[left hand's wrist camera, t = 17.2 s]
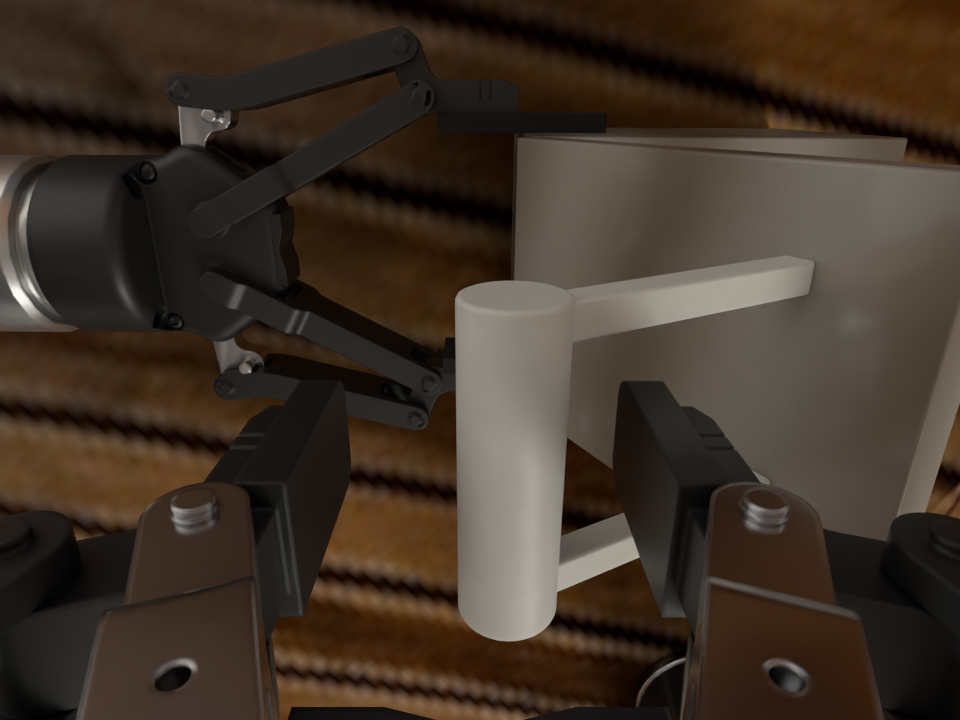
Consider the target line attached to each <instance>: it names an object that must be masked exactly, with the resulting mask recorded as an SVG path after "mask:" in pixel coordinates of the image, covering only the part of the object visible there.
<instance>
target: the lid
mask: <svg viewBox="0 0 960 720" xmlns="http://www.w3.org/2000/svg"><path fill="white" fill-rule="evenodd" d="M455 344H456V438H457V533H458V606H459V611H460V613H461V615H462V617H463V619H464V620H465V622H466V623H467V624H468V625H469V626H470V627H471V628H472V629H473V630H474V631H476V632H477V633H479V634H481V635H483V636H485V637H488V638H491V639H494V640H500V641H518V640H524V639H528V638H530V637H533V636H535V635H537V634H539V633H540V632H541V631H543V630H544V629H545V628H546V627H547V626H548V625H549V623H550V622H551V621H552V619H553V617H554V615H555V612H556V603H557V592H558V591H561V590H563V589H565V588H568V587H570V586H573V585H575V584H577V583H580V582H582V581H585V580H587V579H589V578H592V577H594V576H596V575H599V574H601V573H604V572H606V571H608V570H611V569H613V568H615V567H618V566H620V565H623V564H625V563H627V562H630V561H632V560H634V559H637V558H639V557H640V556H639V554H638V551H637V548H636V545H635V542H634V539H633V537H632V534H631V531H630V528H629V525H628V523H627V520H626V517H625V514H624V513H622V514H619V515H616V516H614V517H611V518H608V519H606V520H603V521H600V522H598V523H595V524H592V525H589V526H587V527H584V528H581V529H579V530H576V531H573V532H571V533H568V534H565V535H563V536H561V523H562V507H563V491H564V475H565V459H566V443H567V438H569V439H570V440H572V441H573V442H574V443H576V444H577V445H579V446H580V447H581V448H583V449H584V450H586V451H587V452H588V453H590V454H591V455H593V456H594V457H596V458H597V459H598V460H600V461H601V462H603V463H604V464H605V465H607V466H608V467H610V468H611V469H612V470H613V464H612V461H613V446H614V435H615V424H616V413H617V401H618V392H619V387H620V384H621V382H622V381H663V382H664V383H665V384H666V386H667V387H668V389H669V390H670V392H671V393H672V395H673V396H674V398H675V399H676V401H677V402H678V404H679V405H680V406H693V407H694V408H696V409H697V410H699V411H701V412H702V413H704V414H706V415H707V416H709V417H710V418H712V419H713V420H714V421H715V422H716V424H717V425H718V426H719V428H720V429H721V430H722V432H723V433H724V434H725V437H727V438H728V440H729V441H730V442H731V444H732V445H733V446H734V450H737V452H738V453H739V454H740V456H741V457H742V458H743V460H744V461H745V462H746V464H747V465H748V466H749V468H750V469H751V470H752V472H753V473H754V474H755V476H756V477H757V478H758V480H759V481H760V482H761V483H763V484H768V485H772V486H776V487H779V488H782V489H784V490H787V491H789V492H791V493H793V494H795V495H797V496H799V497H801V498H802V499H804V500H805V501H807V502H808V503H809V504H810V505H811V506H812V507H813V508H814V509H815V510H816V511H817V513H818V514H819V516H820V519H821V522H822V527H823V528H824V529H827V530H831V531H835V532H840V533H845V534H850V535H855V536H860V537H866V538H871V539H876V540H882V541H886V540H887V537H888V533H889V530H890V526H891V524H892V522H893V520H894V519H895V518H897V517H898V516H901V515H903V514H907V513H915V512H925V511H926V508H927V504H928V501H929V498H930V495H931V492H932V489H933V485H934V482H935V479H936V476H937V473H938V470H939V466H940V463H941V460H942V457H943V454H944V451H945V447H946V444H947V441H948V438H949V435H950V432H951V428H952V425H953V422H954V419H955V416H956V413H957V409H958V406H959V403H960V165H946V164H931V163H917V162H902V161H888V160H873V159H859V158H844V157H830V156H815V155H801V154H786V153H772V152H757V151H743V150H728V149H714V148H699V147H685V146H670V145H656V144H641V143H627V142H612V141H597V140H583V139H568V138H554V137H520V138H518V145H517V185H516V225H515V265H514V281H493V282H486V283H480V284H476V285H473V286H469V287H467V288H464V289H462V290H461V291H459V293H458V294H457V296H456V299H455Z"/></svg>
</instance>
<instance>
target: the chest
mask: <svg viewBox="0 0 960 720" xmlns="http://www.w3.org/2000/svg"><path fill="white" fill-rule="evenodd" d="M520 137H554V138H568V139H583V140H597V141H612V142H627V143H641V144H656V145H670V146H685V147H699V148H714V149H728V150H743V151H757V152H772V153H786V154H801V155H815V156H830V157H844V158H859V159H873V160H888V161H902V160H903V156H904V152H905V148H906V144H907V139H906V138H899V137H885V136H871V135H857V134H843V133H828V132H814V131H800V130H786V129H771V128H606V133H525V134H518V133H514V162H513V206H512V249H511V281H514V265H515V225H516V185H517V145H518V138H520Z"/></svg>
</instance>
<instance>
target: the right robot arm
mask: <svg viewBox="0 0 960 720" xmlns="http://www.w3.org/2000/svg"><path fill="white" fill-rule="evenodd" d="M393 71H396V74H397V77H398V79H399V82H400V85H401V87H402V88H401V89H399V90H398V91H396V92H394V93H393V94H391V95H389V96H388V97H386V98H384V99H383V100H381V101H379V102H378V103H376V104H374V105H373V106H371V107H369V108H368V109H366V110H364V111H362V112H361V113H359V114H357V115H356V116H354V117H352V118H351V119H349V120H347V121H346V122H344V123H342V124H341V125H339V126H337V127H336V128H334V129H332V130H331V131H329V132H327V133H326V134H324V135H322V136H320V137H319V138H317V139H315V140H314V141H312V142H310V143H309V144H307V145H305V146H304V147H302V148H300V149H299V150H297V151H295V152H294V153H292V154H290V155H289V156H287V157H285V158H283V159H282V160H280V161H278V162H276V163H274V164H272V165H270V166H268V167H266V168H265V169H263V170H261V171H260V172H258V173H256V174H254V173H253V172H251V171H250V170H249V169H247V168H246V167H244V166H243V165H241V164H240V163H238V162H237V161H235V160H234V159H233V158H231V157H230V156H228V155H227V154H225V153H224V152H222V151H221V150H219V149H218V148H217V147H215V146H214V140H215V138H216V136H217V135H218V133H220V132H222V131H225V130H230V129H232V128H234V127H235V126H236V125H237V123H238V119H239V110H256V109H261V108H266V107H270V106H273V105H277V104H280V103H284V102H287V101H291V100H294V99H298V98H301V97H305V96H308V95H312V94H315V93H319V92H322V91H326V90H329V89H333V88H337V87H340V86H344V85H347V84H351V83H354V82H358V81H361V80H365V79H368V78H372V77H375V76H379V75H382V74H386V73H389V72H393ZM164 89H165V92H166V95H167V97H168V98H169V100H170V101H171V102H172V103H174V104H175V105H177V106H178V108H179V122H180V136H181V145H179V146H177V147H175V148H174V149H172V150H171V151H169V152H168V153H166V154H163V155H69V156H65V157H62V158H60V159H59V158H56V157H53V156H51V155H0V331H34V332H71V331H74V330H77V329H81V330H84V331H90V332H170V331H186V332H191V333H194V334H197V335H199V336H201V337H203V338H205V339H207V340H210V341H213V344H214V347H215V351H216V355H217V359H218V363H219V366H220V370H221V375H220V376H219V377H218V378H217V379H216V380H215V383H214V389H215V391H216V393H217V394H218V395H219V396H220V397H222V398H224V399H229V400H231V399H243V398H255V397H270V398H275V399H279V400H283V401H287V400H288V398H289V397H290V395H291V394H292V392H293V391H294V389H295V388H296V386H297V385H298V383H299V382H300V381H301V380H340V381H342V383H343V386H344V390H345V398H346V410H347V415H349V416H353V417H357V418H362V419H366V420H370V421H375V422H379V423H383V424H388V425H392V426H396V427H401V428H405V429H409V430H416V431H418V430H421V429H423V428H424V427H426V425H427V424H428V420H429V416H430V413H431V411H432V408H433V406H434V403H435V401H436V399H437V398H438V396H439V395H441V394H443V393H445V392H451V391H456V344H455V338H446V340H445V347H444V353H443V351H442V350H441V349H438V352H437V353H436V352H434V351H432V350H430V349H428V348H426V347H424V346H422V345H420V344H418V343H416V342H414V341H412V340H410V339H407V338H405V337H403V336H401V335H399V334H397V333H395V332H393V331H391V330H389V329H387V328H385V327H383V326H381V325H379V324H377V323H375V322H373V321H371V320H369V319H367V318H365V317H363V316H361V315H359V314H357V313H355V312H353V311H351V310H349V309H347V308H345V307H343V306H341V305H339V304H337V303H335V302H333V301H331V300H329V299H327V298H325V297H323V296H322V295H320V293H319V292H318V291H317V290H316V289H315V288H313V287H311V286H309V285H307V284H305V283H303V282H301V281H299V280H297V278H298V277H299V276H300V269H299V259H298V256H297V254H296V251H295V248H294V246H293V243H292V238H293V232H294V226H295V221H294V212H293V207H289V205H288V203H287V201H286V199H285V197H287V196H288V195H290V194H292V193H294V192H295V191H297V190H299V189H300V188H302V187H304V186H306V185H307V184H309V183H310V182H312V181H314V180H315V179H317V178H319V177H320V176H322V175H324V174H326V173H327V172H329V171H331V170H332V169H334V168H336V167H338V166H339V165H341V164H343V163H345V162H346V161H348V160H350V159H351V158H353V157H355V156H357V155H358V154H360V153H362V152H363V151H365V150H367V149H369V148H370V147H372V146H374V145H375V144H377V143H379V142H381V141H382V140H384V139H386V138H387V137H389V136H391V135H393V134H394V133H396V132H398V131H400V130H401V129H403V128H405V127H406V126H408V125H410V124H412V123H413V122H415V121H417V120H418V119H420V118H422V117H424V116H425V115H427V114H438V133H518V134H525V133H606V120H607V113H587V112H518V103H519V86H517V85H515V84H513V83H510V82H508V81H479V80H441V79H438V78H436V77H435V76H434V75H433V74H432V72H431V70H430V68H429V66H428V63H427V60H426V57H425V55H424V52H423V49H422V45H421V43H420V41H419V39H418V38H417V37H416V36H415V35H414V34H413V33H412V32H411V31H410V30H409V29H407V28H404V27H396V28H393V29H389V30H386V31H382V32H379V33H376V34H372V35H369V36H365V37H362V38H358V39H355V40H351V41H348V42H345V43H341V44H338V45H334V46H331V47H327V48H324V49H320V50H317V51H314V52H310V53H307V54H303V55H300V56H296V57H293V58H289V59H286V60H283V61H279V62H276V63H272V64H269V65H265V66H262V67H258V68H255V69H252V70H248V71H245V72H241V73H238V74H234V75H231V76H228V77H224V78H223V77H213V76H204V75H195V74H185V73H173V74H172V75H170V76H168V78H167V80H166V81H165V88H164ZM257 320H259V321H261V322H263V323H265V324H267V325H269V326H271V327H273V328H276V329H278V330H280V331H282V332H284V333H288V334H299V335H301V336H303V337H305V338H307V339H309V340H312V341H314V342H316V343H318V344H320V345H322V346H324V347H326V348H328V349H330V350H332V351H334V352H336V353H338V354H341V355H343V356H345V357H347V358H349V359H351V360H353V361H355V362H357V363H359V364H361V365H363V366H365V367H367V368H370V369H372V370H374V371H376V372H378V373H380V374H382V375H384V376H386V377H388V378H385V377H380V376H376V375H372V374H368V373H363V372H359V371H355V370H351V369H347V368H342V367H338V366H334V365H330V364H326V363H321V362H317V361H313V360H309V359H305V358H300V357H296V356H291V355H285V354H269V353H268V350H267V348H266V347H265V346H263V345H257V344H251V343H249V342H247V341H246V340H245V339H244V338H243V336H242V334H241V332H242V331H243V330H245V329H246V328H247V327H249V326H250V325H251V324H253V323H254V322H255V321H257ZM389 378H390V379H389Z"/></svg>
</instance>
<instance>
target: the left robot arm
mask: <svg viewBox="0 0 960 720" xmlns="http://www.w3.org/2000/svg"><path fill="white" fill-rule="evenodd" d="M612 464H613V479H614V485H615V489H616V492H617V495H618V497H619V500H620V503H621V506H622V509H623V511H624V514H625V517H626V520H627V523H628V525H629V528H630V531H631V534H632V537H633V539H634V542H635V545H636V548H637V551H638V554H639V556H640V559H641V562H642V565H643V568H644V570H645V573H646V576H647V579H648V582H649V584H650V587H651V590H652V593H653V596H654V598H655V601H656V604H657V607H658V610H659V613H660V615H661V618H687V620H688V623H689V625H690V631H689V637H688V643H687V650H685V651H681V652H678V653H675V654H673V655H670V656H668V657H666V658H664V659H663V660H661V661H659V662H658V663H656V664H655V665H654V666H653V667H651V668H650V669H649V670H648V671H647V672H646V673H645V674H644V676H643V677H642V678H641V680H640V681H639V683H638V685H637V688H636V690H635V695H634V707H574V708H570V709H566V710H562V711H558V712H554V713H550V714H546V715H542V716H538V717H533V718H529V719H525V720H960V519H958V518H954V517H950V516H946V515H941V514H935V513H925V512H915V513H907V514H903V515H901V516H898V517H897V518H895V519H894V520H893V522H892V524H891V526H890V530H889V533H888V537H887V540H886V541H882V540H876V539H871V538H866V537H860V536H855V535H850V534H845V533H840V532H835V531H831V530H827V529H824V528H823V527H822V522H821V519H820V516H819V514H818V513H817V511H816V510H815V509H814V508H813V507H812V506H811V505H810V504H809V503H808V502H807V501H805V500H804V499H802V498H801V497H799V496H797V495H795V494H793V493H791V492H789V491H787V490H784V489H782V488H779V487H776V486H772V485H768V484H763V483H761V482H760V481H759V480H758V478H757V477H756V476H755V474H754V473H753V472H752V470H751V469H750V468H749V466H748V465H747V464H746V462H745V461H744V460H743V458H742V457H741V456H740V454H739V453H738V452H737V450H734V446H733V445H732V444H731V442H730V441H729V440H728V438H727V437H725V434H724V433H723V432H722V430H721V429H720V428H719V426H718V425H717V424H716V422H715V421H714V420H713V419H712V418H710V417H709V416H707V415H706V414H704V413H702V412H701V411H699V410H697V409H696V408H694V407H693V406H680V405H679V404H678V402H677V401H676V399H675V398H674V396H673V395H672V393H671V392H670V390H669V389H668V387H667V386H666V384H665V383H664V382H663V381H622V382H621V384H620V387H619V392H618V401H617V413H616V424H615V435H614V446H613V461H612ZM350 468H351V457H350V444H349V433H348V421H347V410H346V398H345V390H344V386H343V383H342V381H340V380H301V381H300V382H299V383H298V385H297V386H296V388H295V389H294V391H293V392H292V394H291V395H290V397H289V398H288V400H287V401H286V403H285V404H284V406H270V407H269V408H267V409H265V410H264V411H262V412H260V413H259V414H257V415H256V416H254V417H252V418H251V419H250V420H249V421H248V423H247V424H246V425H245V427H244V428H243V429H242V431H241V432H240V433H239V437H237V438H236V439H235V440H234V442H233V443H232V444H231V446H230V449H228V450H227V451H226V452H225V454H224V455H223V456H222V458H221V459H220V461H219V462H218V463H217V465H216V466H215V467H214V469H213V470H212V471H211V473H210V474H209V475H208V477H207V478H206V479H205V481H204V482H203V483H197V484H192V485H188V486H184V487H181V488H178V489H176V490H173V491H171V492H169V493H167V494H165V495H163V496H161V497H159V498H158V499H156V500H155V501H153V502H152V503H151V504H150V505H149V506H148V507H147V508H146V509H145V510H144V511H143V513H142V514H141V516H140V519H139V522H138V527H137V529H134V530H130V531H125V532H120V533H115V534H110V535H105V536H99V537H94V538H89V539H84V540H78V541H76V537H75V534H74V530H73V527H72V523H71V521H70V519H69V518H68V517H67V516H65V515H63V514H61V513H58V512H54V511H30V512H23V513H18V514H14V515H10V516H6V517H3V518H0V720H281V715H280V706H279V696H278V687H277V678H276V668H275V659H274V650H273V643H272V637H271V633H272V631H273V628H274V626H275V623H276V621H277V618H278V616H303V615H304V612H305V609H306V607H307V604H308V601H309V598H310V595H311V592H312V589H313V586H314V584H315V581H316V578H317V575H318V572H319V569H320V566H321V563H322V561H323V558H324V555H325V552H326V549H327V546H328V543H329V541H330V538H331V535H332V532H333V529H334V526H335V523H336V520H337V518H338V515H339V512H340V509H341V506H342V503H343V500H344V497H345V495H346V492H347V489H348V485H349V479H350ZM288 720H435V719H431V718H427V717H422V716H418V715H414V714H410V713H406V712H402V711H398V710H394V709H390V708H386V707H292V708H291V711H290V714H289V717H288Z"/></svg>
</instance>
